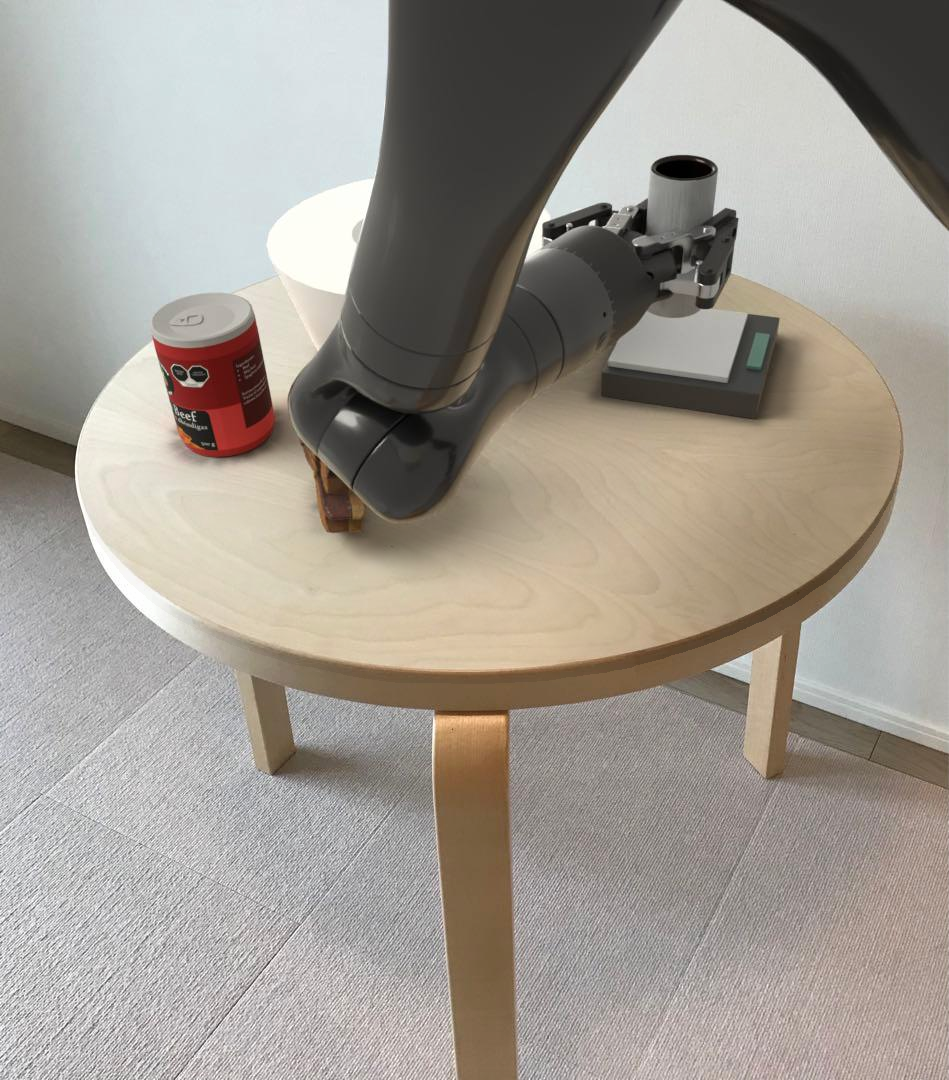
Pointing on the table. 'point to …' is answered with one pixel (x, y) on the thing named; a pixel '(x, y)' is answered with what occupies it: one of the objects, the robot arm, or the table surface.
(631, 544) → the table surface
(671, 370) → the scale
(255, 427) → the canned food
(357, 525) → the wooden carving
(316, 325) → the bowl
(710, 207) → the planter
